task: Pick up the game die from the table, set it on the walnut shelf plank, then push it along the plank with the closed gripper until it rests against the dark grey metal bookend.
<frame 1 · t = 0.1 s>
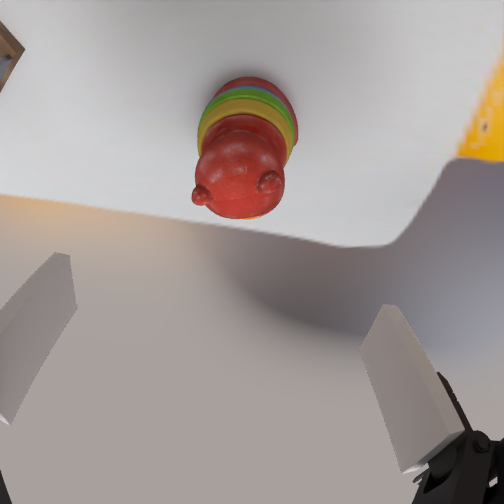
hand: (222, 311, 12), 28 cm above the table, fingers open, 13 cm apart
stacking bear: (250, 114, 33), on the table
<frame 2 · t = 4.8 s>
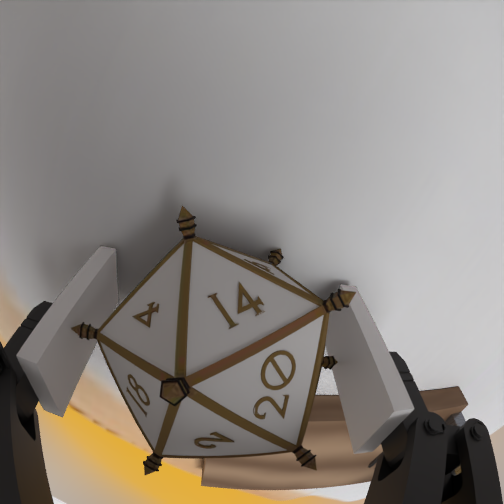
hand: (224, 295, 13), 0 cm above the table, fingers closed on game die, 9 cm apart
shelf plank: (326, 443, 20), on the table
game die: (225, 286, 13), on the table, touching gripper
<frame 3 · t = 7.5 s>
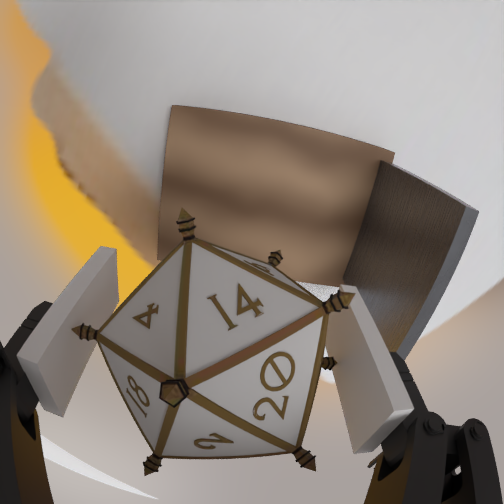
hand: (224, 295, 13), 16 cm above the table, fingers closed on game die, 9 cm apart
shelf plank: (271, 198, 27), on the table
game die: (225, 287, 13), point 15 cm above the table, touching gripper
bookend: (367, 223, 26), resting on shelf plank
when the fingers open (4 cm above the table, at t = 10.2 s): game die drops 2 cm, resting on shelf plank.
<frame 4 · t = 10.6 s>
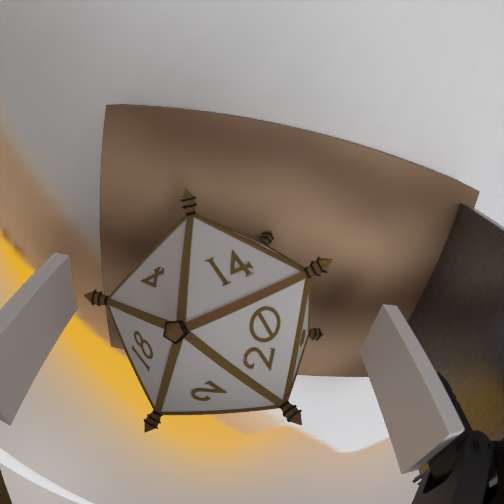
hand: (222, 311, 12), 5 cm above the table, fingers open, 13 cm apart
shelf plank: (283, 259, 17), on the table
game die: (222, 266, 15), point 2 cm above the table, touching shelf plank
bookend: (427, 297, 16), resting on shelf plank
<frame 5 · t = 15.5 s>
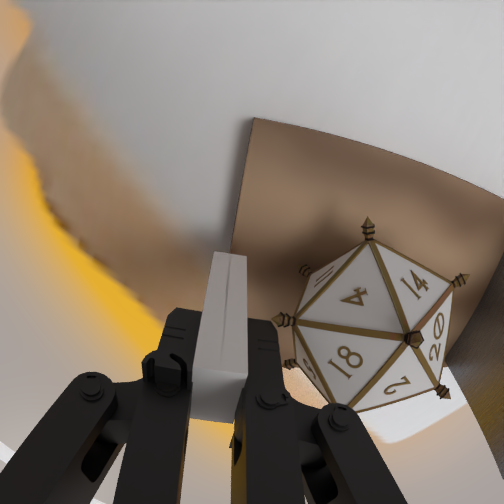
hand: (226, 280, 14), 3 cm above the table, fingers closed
shelf plank: (383, 269, 18), on the table
game die: (346, 278, 16), point 2 cm above the table, touching gripper, shelf plank
bookend: (485, 298, 17), resting on shelf plank
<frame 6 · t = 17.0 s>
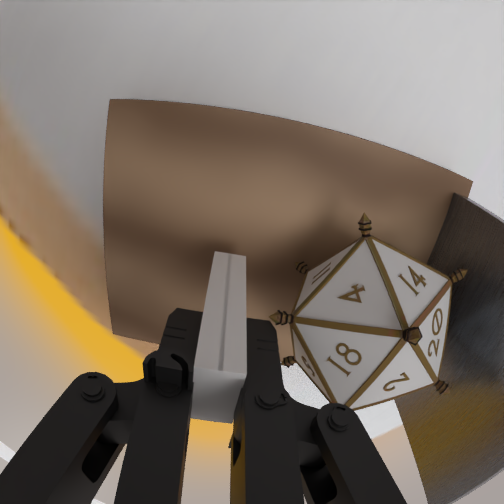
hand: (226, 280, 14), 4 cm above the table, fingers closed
shelf plank: (280, 248, 17), on the table
game die: (344, 274, 16), point 2 cm above the table, touching bookend, gripper, shelf plank
bookend: (423, 287, 16), resting on shelf plank
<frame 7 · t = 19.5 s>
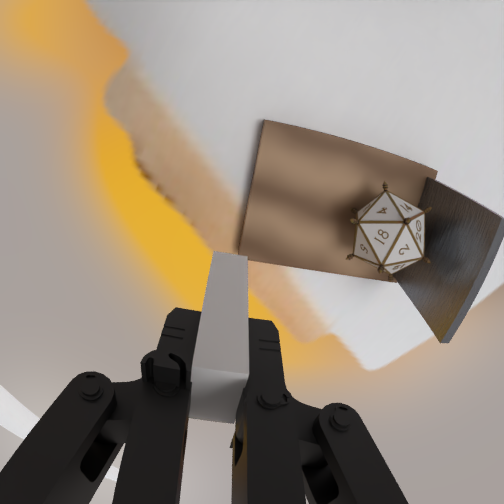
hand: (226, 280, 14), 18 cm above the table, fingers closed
shelf plank: (339, 205, 31), on the table
game die: (373, 217, 30), point 2 cm above the table, touching shelf plank
bookend: (414, 228, 30), resting on shelf plank
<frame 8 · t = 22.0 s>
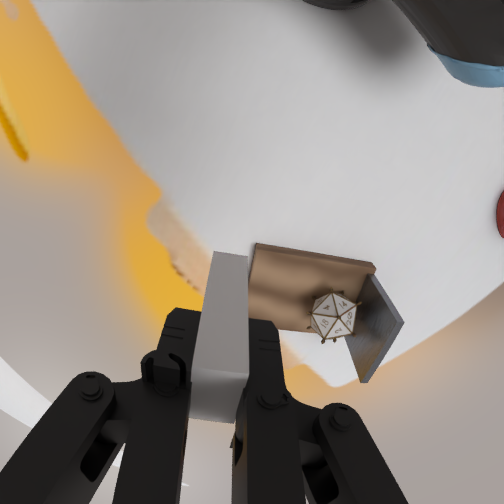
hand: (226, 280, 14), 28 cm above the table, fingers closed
shelf plank: (305, 291, 48), on the table
game die: (327, 300, 47), point 2 cm above the table, touching shelf plank
bookend: (357, 304, 47), resting on shelf plank
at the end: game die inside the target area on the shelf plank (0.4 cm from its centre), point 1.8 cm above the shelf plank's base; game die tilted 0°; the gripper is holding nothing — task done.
